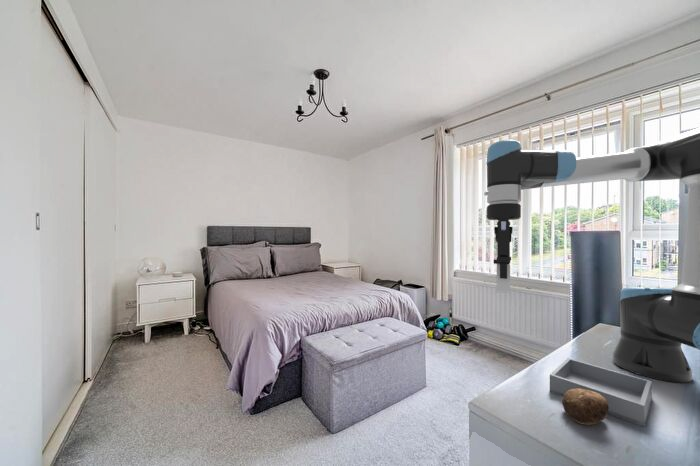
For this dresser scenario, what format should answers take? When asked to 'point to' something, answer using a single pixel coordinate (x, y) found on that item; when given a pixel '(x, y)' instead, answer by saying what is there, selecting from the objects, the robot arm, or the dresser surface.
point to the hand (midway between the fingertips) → (503, 288)
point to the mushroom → (585, 406)
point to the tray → (606, 388)
